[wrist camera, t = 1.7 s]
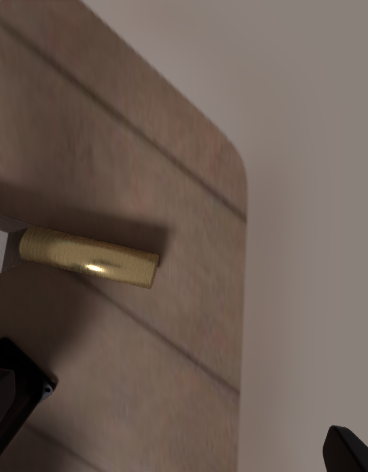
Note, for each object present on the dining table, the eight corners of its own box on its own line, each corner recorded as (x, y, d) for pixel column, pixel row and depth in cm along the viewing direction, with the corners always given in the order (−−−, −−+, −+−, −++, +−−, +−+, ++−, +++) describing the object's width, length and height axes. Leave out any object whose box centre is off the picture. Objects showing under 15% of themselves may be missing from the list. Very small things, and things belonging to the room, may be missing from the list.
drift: (160, 250, 19) (154, 261, 16) (154, 280, 19) (147, 295, 17) (43, 223, 19) (20, 229, 17) (40, 254, 20) (18, 265, 17)
